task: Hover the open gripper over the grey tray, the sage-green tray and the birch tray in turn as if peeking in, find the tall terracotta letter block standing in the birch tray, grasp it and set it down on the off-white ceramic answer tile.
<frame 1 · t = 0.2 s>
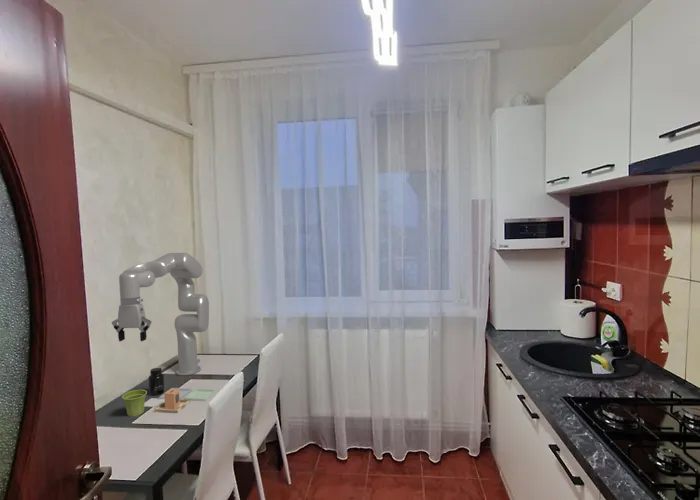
hand: (132, 340, 176), 31 cm above the table, fingers open, 9 cm apart
plant pot: (135, 414, 174), on the table
tray birch: (172, 408, 179), on the table
tray green: (200, 396, 190), on the table
letter block: (172, 406, 179), resting on tray birch
supplement bottle: (157, 394, 194), on the table
answer tile: (154, 403, 183), on the table
tray grey: (176, 395, 191), on the table
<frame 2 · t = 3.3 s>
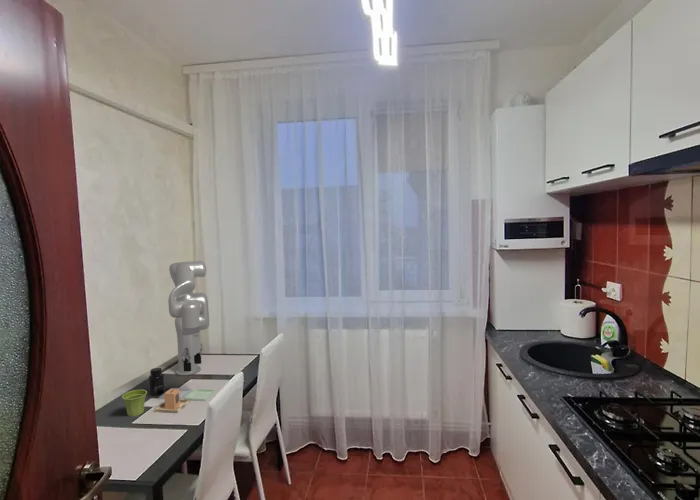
hand: (192, 367, 186), 15 cm above the table, fingers open, 9 cm apart
nothing on the table moved.
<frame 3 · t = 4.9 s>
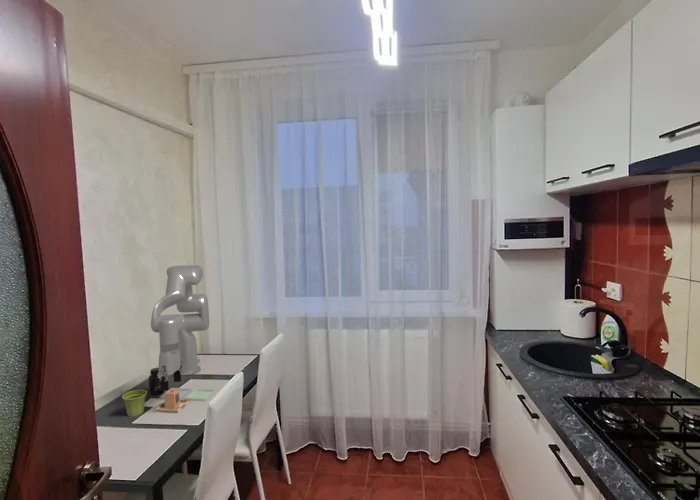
hand: (171, 385, 177), 10 cm above the table, fingers open, 9 cm apart
nothing on the table moved.
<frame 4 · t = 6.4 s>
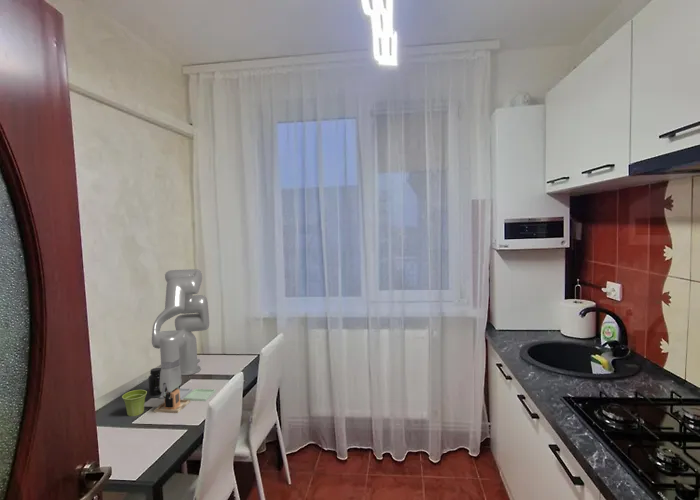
hand: (172, 403, 178), 2 cm above the table, fingers closed on letter block, 4 cm apart
letter block: (172, 406, 179), point 1 cm above the table, touching gripper, tray birch
everything else where it was.
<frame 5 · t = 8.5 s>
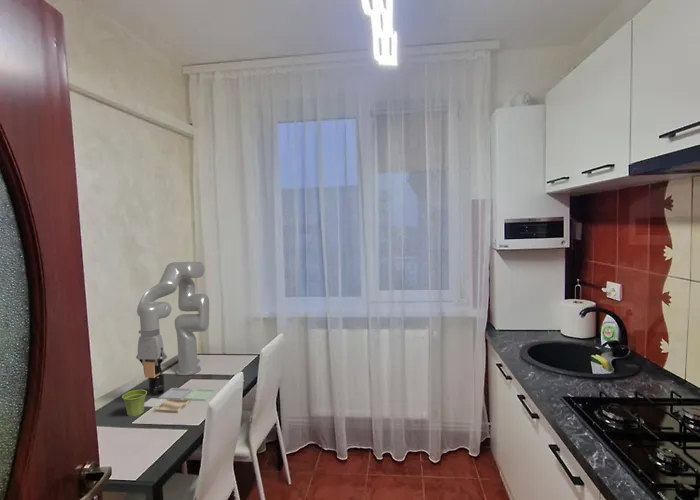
hand: (152, 372, 182), 14 cm above the table, fingers closed on letter block, 4 cm apart
letter block: (152, 375, 182), point 13 cm above the table, touching gripper
everything else where it was.
when the fingers open (3 cm above the table, at t = 10.7 s): letter block drops 1 cm, resting on answer tile.
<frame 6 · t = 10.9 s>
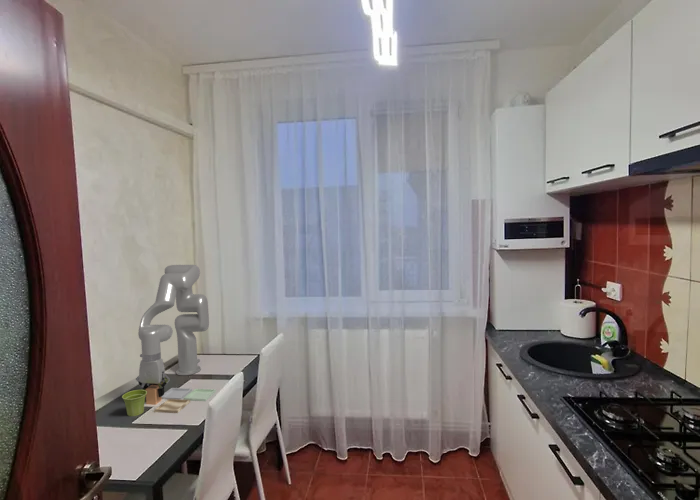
hand: (153, 395, 183), 4 cm above the table, fingers open, 6 cm apart
letter block: (154, 402, 183), point 1 cm above the table, touching answer tile
everything else where it was.
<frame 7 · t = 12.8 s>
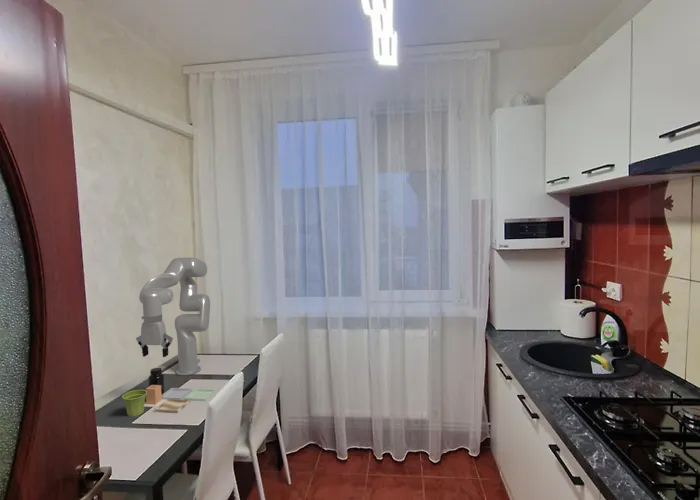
hand: (155, 355, 185), 21 cm above the table, fingers open, 9 cm apart
nothing on the table moved.
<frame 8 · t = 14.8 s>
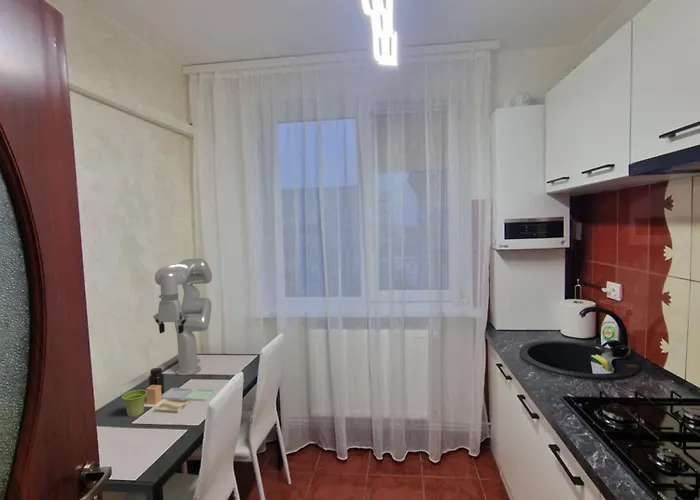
hand: (171, 332, 196), 28 cm above the table, fingers open, 9 cm apart
nothing on the table moved.
at the end: letter block inside the target area on the answer tile (0.0 cm from its centre), point 0.6 cm above the answer tile's base; letter block tilted 0°; the gripper is holding nothing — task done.
